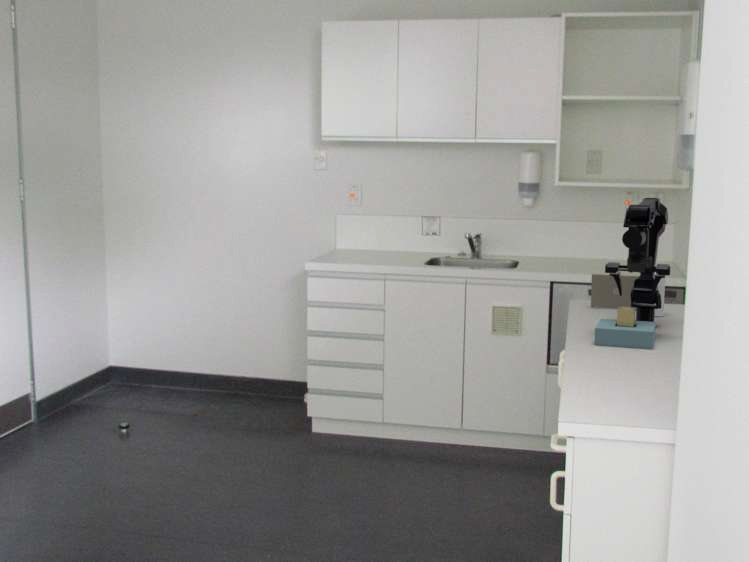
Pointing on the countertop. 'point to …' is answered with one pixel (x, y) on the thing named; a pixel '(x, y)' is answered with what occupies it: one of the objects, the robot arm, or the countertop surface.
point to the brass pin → (626, 317)
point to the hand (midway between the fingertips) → (636, 296)
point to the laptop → (611, 291)
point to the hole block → (625, 334)
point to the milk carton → (662, 292)
